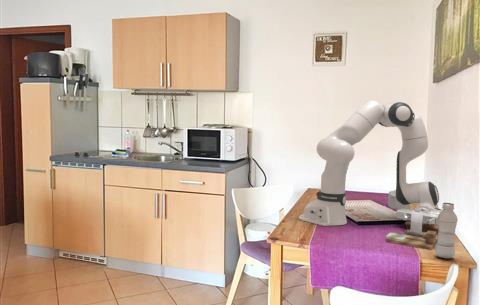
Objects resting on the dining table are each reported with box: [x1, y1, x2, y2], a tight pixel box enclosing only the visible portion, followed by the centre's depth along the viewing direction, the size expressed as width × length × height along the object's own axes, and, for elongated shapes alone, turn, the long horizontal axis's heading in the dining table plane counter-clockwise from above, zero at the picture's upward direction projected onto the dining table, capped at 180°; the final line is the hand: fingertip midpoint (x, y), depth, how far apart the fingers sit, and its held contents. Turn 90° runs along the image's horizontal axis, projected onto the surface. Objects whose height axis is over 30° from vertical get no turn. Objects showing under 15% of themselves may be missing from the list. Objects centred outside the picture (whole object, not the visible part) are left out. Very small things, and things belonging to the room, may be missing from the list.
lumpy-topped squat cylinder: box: [387, 189, 410, 210], centre depth 238 cm, size 10×13×9 cm
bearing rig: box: [385, 229, 437, 251], centre depth 176 cm, size 18×12×5 cm, turn 56°
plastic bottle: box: [434, 202, 459, 260], centre depth 157 cm, size 6×7×20 cm
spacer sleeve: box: [409, 209, 423, 234], centre depth 186 cm, size 4×4×10 cm
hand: (416, 220), depth 186 cm, fingers open, 8 cm apart
